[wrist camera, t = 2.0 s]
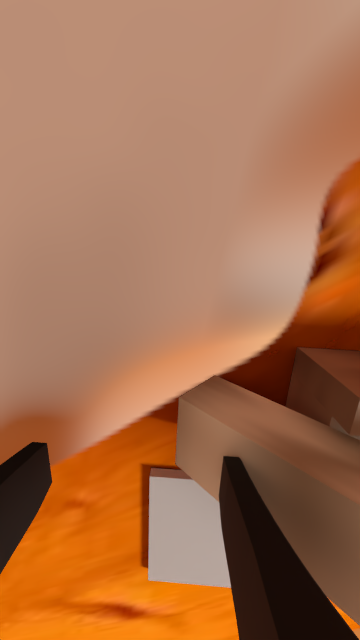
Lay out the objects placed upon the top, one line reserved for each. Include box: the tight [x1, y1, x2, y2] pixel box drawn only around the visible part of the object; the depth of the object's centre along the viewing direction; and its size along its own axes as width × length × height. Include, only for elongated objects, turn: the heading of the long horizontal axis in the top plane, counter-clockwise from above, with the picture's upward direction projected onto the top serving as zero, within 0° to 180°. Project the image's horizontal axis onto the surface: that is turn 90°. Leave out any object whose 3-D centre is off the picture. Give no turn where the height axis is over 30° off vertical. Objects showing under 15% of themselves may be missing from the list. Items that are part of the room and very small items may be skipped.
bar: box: [175, 376, 360, 625], centre depth 8 cm, size 12×4×3 cm
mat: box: [148, 468, 231, 588], centre depth 15 cm, size 16×10×1 cm, turn 87°
